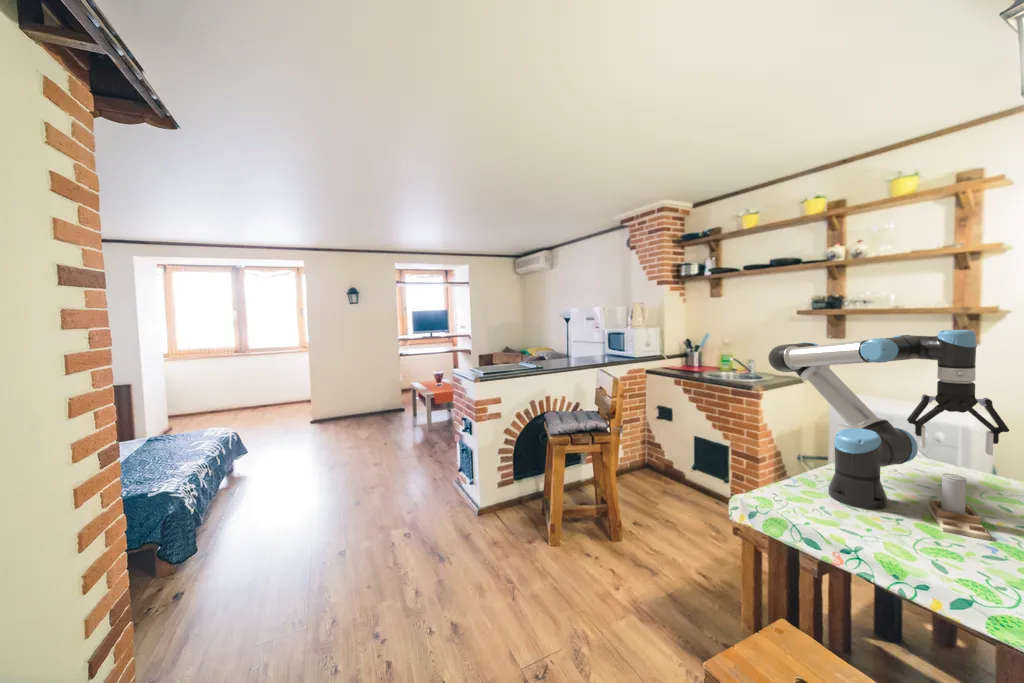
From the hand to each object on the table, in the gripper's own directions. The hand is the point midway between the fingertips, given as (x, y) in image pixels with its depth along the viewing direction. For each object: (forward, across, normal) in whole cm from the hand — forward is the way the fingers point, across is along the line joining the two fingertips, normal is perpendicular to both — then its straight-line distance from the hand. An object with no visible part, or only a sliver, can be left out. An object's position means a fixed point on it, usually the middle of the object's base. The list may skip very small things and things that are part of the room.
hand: (954, 450), depth 117 cm
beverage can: (+20, 0, -1) cm, 20 cm away
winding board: (+21, 0, -4) cm, 22 cm away
